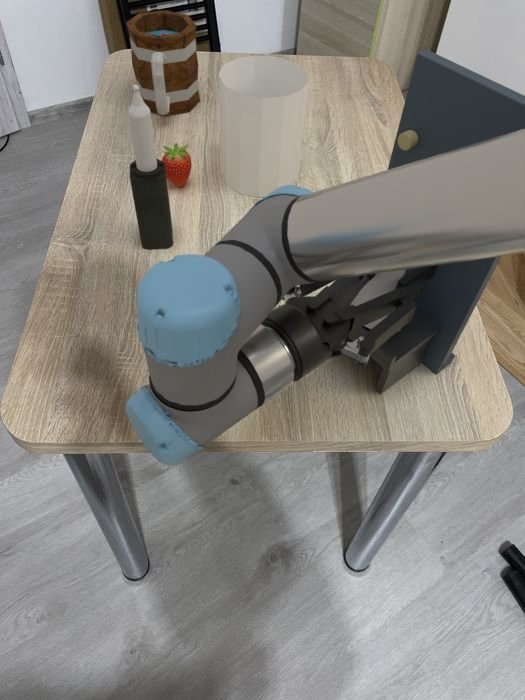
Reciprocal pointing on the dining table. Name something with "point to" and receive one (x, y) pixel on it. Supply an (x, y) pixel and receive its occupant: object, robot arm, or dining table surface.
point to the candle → (148, 180)
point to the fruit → (177, 164)
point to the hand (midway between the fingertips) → (419, 257)
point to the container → (261, 123)
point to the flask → (378, 289)
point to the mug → (165, 61)
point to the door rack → (420, 143)
